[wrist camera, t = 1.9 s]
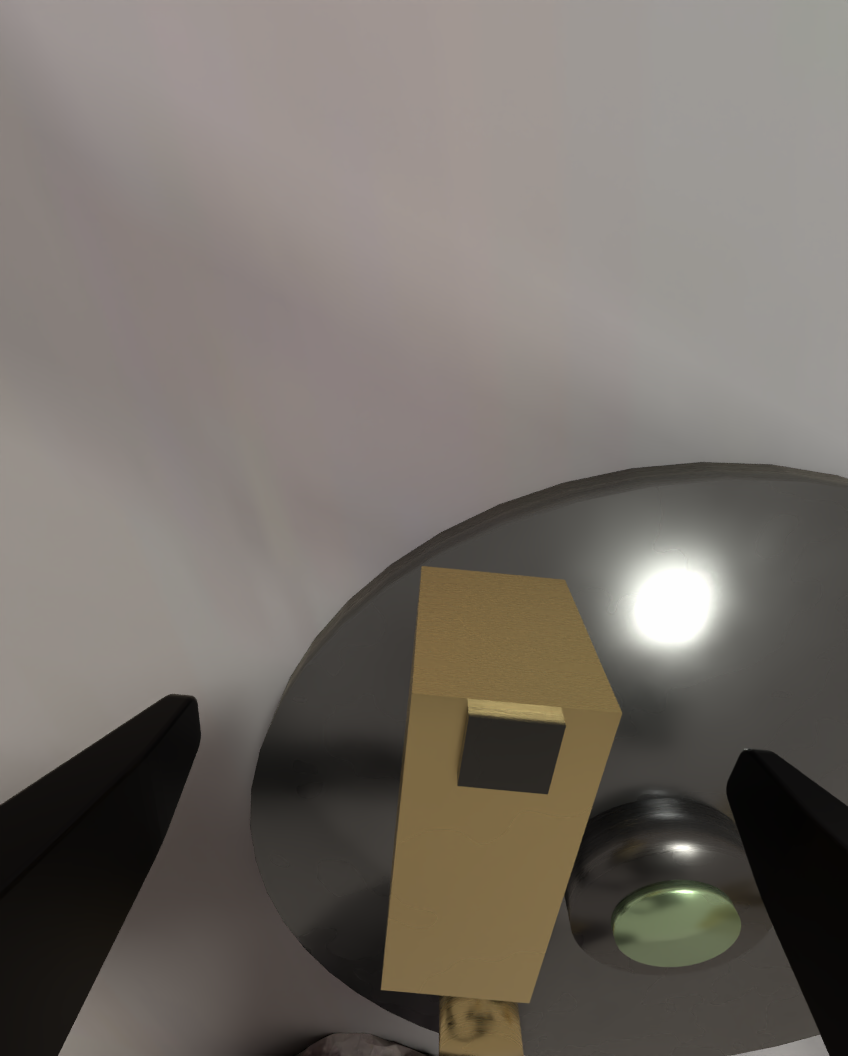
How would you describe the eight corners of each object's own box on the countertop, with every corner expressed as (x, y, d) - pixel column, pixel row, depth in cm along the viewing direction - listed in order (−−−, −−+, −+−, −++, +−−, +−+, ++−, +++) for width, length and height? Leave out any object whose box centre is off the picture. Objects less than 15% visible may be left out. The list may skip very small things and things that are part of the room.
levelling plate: (848, 1044, 20) (918, 1173, 17) (273, 993, 20) (244, 1113, 17) (1289, 515, 11) (1594, 594, 8) (246, 412, 11) (173, 456, 8)
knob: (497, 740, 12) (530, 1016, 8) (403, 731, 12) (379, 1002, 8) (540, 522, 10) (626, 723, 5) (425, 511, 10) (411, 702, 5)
